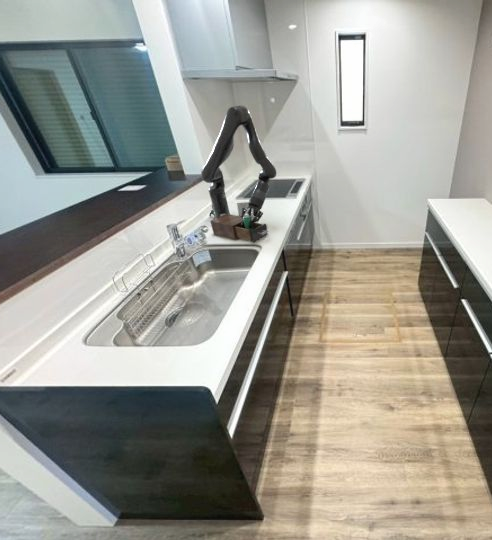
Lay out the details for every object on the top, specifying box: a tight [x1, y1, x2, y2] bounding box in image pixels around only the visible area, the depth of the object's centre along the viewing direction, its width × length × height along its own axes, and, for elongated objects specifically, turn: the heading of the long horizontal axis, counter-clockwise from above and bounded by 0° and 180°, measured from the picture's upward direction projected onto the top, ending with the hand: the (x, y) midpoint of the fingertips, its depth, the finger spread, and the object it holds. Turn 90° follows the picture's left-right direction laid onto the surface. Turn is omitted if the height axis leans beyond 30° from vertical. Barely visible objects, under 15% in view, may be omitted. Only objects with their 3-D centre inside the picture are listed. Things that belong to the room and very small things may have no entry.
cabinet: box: [210, 213, 243, 241], centre depth 171 cm, size 18×13×9 cm
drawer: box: [234, 222, 269, 244], centre depth 165 cm, size 20×11×7 cm, turn 61°
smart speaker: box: [236, 201, 249, 217], centre depth 185 cm, size 10×9×14 cm
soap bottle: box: [243, 214, 254, 231], centre depth 164 cm, size 4×4×12 cm
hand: (246, 226), depth 162 cm, fingers closed on soap bottle, 4 cm apart
